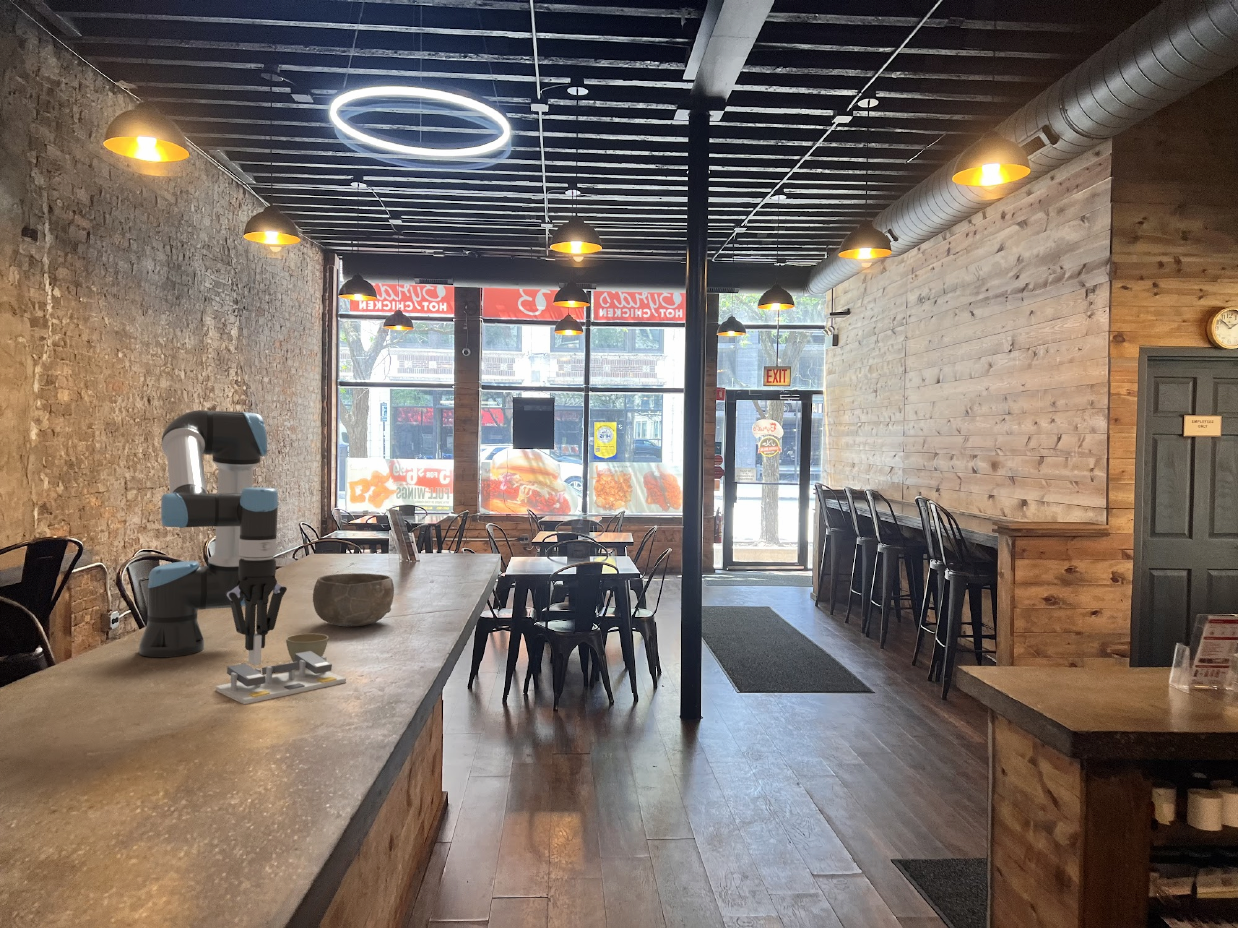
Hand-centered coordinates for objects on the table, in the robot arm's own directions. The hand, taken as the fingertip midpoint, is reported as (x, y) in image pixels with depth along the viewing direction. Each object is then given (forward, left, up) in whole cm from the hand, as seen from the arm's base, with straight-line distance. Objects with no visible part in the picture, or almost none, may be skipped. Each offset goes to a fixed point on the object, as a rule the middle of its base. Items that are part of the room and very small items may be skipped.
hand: (254, 663), depth 177 cm
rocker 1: (-4, 0, -3) cm, 5 cm away
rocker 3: (-4, +16, -3) cm, 17 cm away
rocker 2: (-4, +8, -3) cm, 9 cm away
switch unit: (-3, +8, -7) cm, 11 cm away
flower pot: (-16, +21, -7) cm, 27 cm away
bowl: (-50, +55, -7) cm, 74 cm away
